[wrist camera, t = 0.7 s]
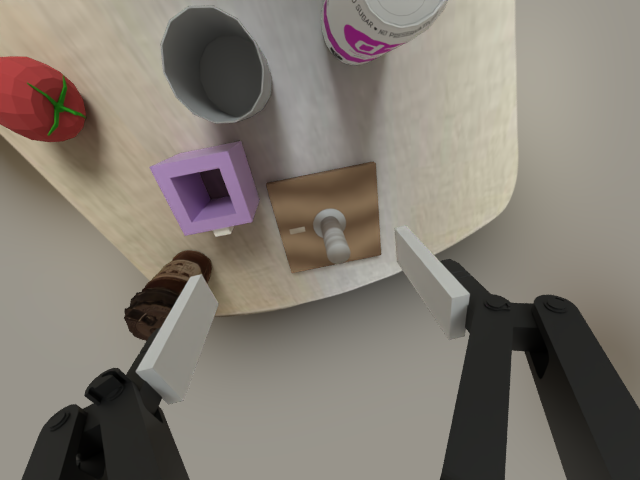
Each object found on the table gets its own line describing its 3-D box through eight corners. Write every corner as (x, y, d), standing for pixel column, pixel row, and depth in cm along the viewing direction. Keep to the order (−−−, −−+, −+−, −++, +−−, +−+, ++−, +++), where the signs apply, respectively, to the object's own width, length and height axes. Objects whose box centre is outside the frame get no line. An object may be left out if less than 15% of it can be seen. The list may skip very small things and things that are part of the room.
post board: (266, 183, 36) (258, 209, 27) (373, 161, 36) (399, 180, 27) (291, 269, 44) (291, 311, 35) (379, 251, 44) (400, 288, 35)
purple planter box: (179, 153, 33) (149, 167, 26) (241, 140, 33) (227, 151, 26) (207, 217, 38) (189, 243, 31) (261, 206, 38) (255, 230, 31)
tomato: (-73, 96, 21) (17, 117, 21) (-28, 25, 23) (55, 45, 23) (29, 147, 29) (94, 163, 29) (57, 92, 30) (119, 107, 31)
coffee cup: (156, 245, 39) (102, 303, 28) (208, 238, 40) (176, 293, 28) (177, 287, 44) (137, 352, 32) (224, 281, 44) (201, 342, 33)
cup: (230, 130, 32) (207, 140, 24) (184, 62, 28) (137, 44, 20) (285, 95, 31) (282, 92, 22) (244, 18, 27) (222, -21, 18)
